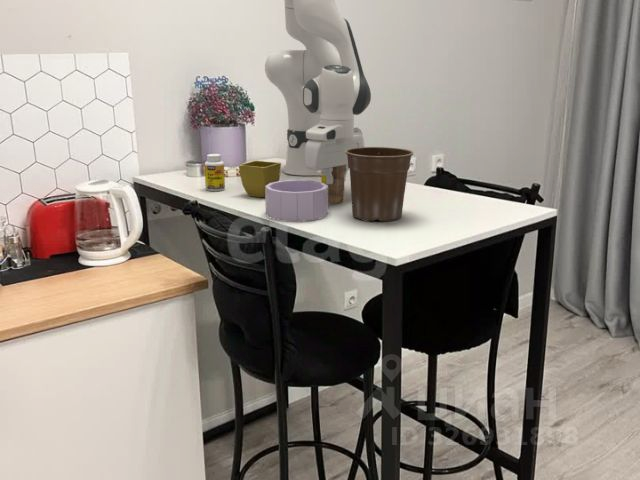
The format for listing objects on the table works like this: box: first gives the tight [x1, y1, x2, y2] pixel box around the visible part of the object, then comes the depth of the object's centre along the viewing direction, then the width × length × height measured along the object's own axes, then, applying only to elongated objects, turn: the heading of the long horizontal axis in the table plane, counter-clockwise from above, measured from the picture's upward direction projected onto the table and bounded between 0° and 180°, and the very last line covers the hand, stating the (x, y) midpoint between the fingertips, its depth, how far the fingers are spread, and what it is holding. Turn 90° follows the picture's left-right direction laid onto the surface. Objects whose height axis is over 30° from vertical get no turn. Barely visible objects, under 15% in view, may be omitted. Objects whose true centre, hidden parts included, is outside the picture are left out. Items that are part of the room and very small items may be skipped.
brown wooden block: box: [328, 165, 345, 205], centre depth 171 cm, size 3×3×14 cm
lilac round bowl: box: [264, 179, 329, 222], centre depth 160 cm, size 15×15×7 cm
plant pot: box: [345, 146, 414, 222], centre depth 157 cm, size 16×16×16 cm
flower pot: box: [238, 160, 282, 198], centre depth 180 cm, size 9×9×9 cm
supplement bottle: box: [204, 153, 226, 192], centre depth 186 cm, size 6×6×10 cm
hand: (336, 182), depth 171 cm, fingers closed on brown wooden block, 3 cm apart
